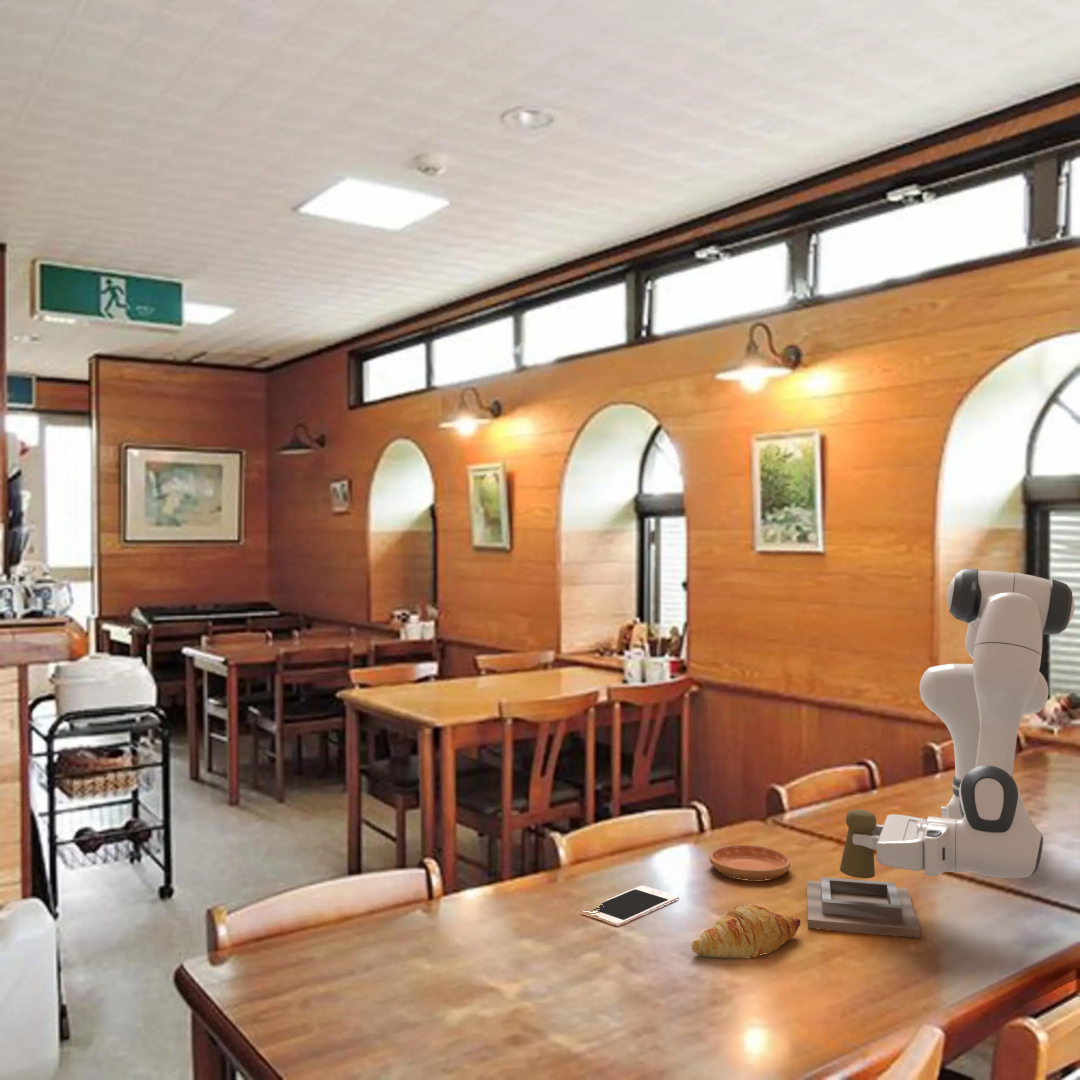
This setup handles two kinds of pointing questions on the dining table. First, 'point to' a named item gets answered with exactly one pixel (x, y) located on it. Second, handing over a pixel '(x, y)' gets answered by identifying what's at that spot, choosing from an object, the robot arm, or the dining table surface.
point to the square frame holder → (861, 907)
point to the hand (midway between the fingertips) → (854, 834)
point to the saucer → (749, 862)
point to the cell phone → (632, 904)
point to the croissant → (746, 933)
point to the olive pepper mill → (854, 856)
